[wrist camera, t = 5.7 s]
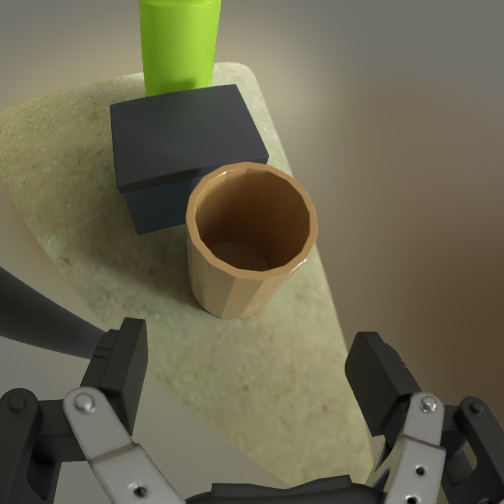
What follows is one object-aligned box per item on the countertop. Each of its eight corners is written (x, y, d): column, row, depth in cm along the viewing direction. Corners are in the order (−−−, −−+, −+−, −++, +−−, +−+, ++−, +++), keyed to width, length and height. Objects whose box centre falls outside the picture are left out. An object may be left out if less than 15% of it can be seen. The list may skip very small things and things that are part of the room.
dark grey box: (136, 237, 23) (116, 186, 17) (124, 163, 25) (109, 104, 19) (251, 211, 26) (269, 155, 19) (226, 143, 28) (236, 83, 21)
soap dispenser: (149, 147, 26) (134, -81, 8) (148, 98, 29) (142, -90, 10) (214, 140, 28) (247, -83, 9) (205, 92, 30) (227, -92, 12)
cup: (203, 330, 21) (206, 296, 13) (181, 250, 23) (174, 174, 15) (284, 306, 23) (336, 259, 14) (258, 232, 25) (290, 154, 16)
